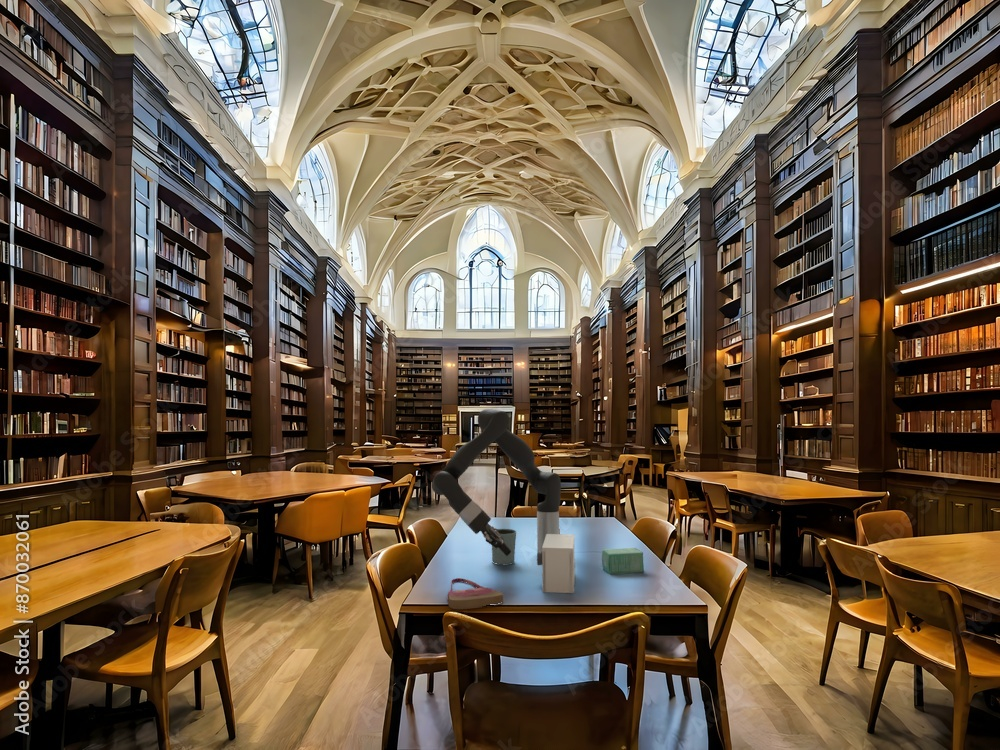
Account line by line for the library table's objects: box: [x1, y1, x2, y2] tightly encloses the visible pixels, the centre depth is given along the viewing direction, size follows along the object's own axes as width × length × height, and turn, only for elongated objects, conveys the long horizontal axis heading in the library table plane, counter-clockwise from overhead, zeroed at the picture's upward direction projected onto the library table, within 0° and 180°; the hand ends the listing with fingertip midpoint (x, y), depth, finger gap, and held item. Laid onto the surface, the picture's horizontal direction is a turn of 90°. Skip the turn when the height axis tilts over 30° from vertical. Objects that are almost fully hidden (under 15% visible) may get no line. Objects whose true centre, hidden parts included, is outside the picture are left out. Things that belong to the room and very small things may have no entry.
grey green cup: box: [491, 528, 517, 565], centre depth 217 cm, size 10×10×12 cm
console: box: [541, 533, 576, 594], centre depth 190 cm, size 22×10×14 cm, turn 172°
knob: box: [536, 551, 542, 566], centre depth 190 cm, size 5×8×5 cm, turn 82°
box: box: [601, 547, 645, 575], centre depth 204 cm, size 7×14×8 cm, turn 100°
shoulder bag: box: [447, 577, 504, 610], centre depth 178 cm, size 17×3×28 cm
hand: (509, 553), depth 192 cm, fingers closed
